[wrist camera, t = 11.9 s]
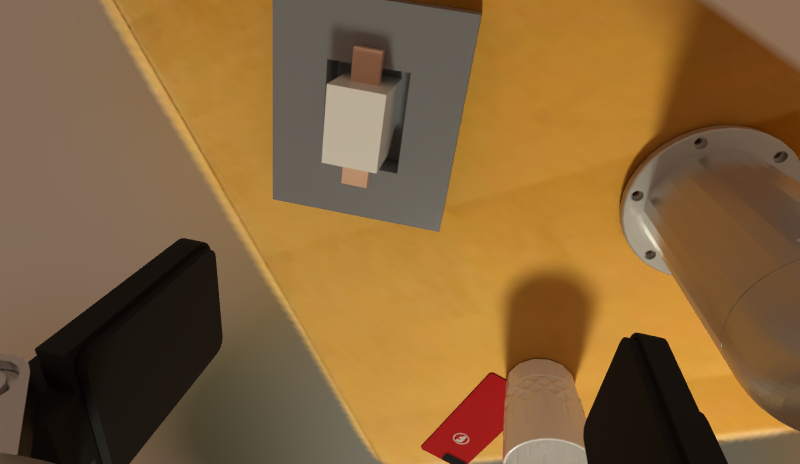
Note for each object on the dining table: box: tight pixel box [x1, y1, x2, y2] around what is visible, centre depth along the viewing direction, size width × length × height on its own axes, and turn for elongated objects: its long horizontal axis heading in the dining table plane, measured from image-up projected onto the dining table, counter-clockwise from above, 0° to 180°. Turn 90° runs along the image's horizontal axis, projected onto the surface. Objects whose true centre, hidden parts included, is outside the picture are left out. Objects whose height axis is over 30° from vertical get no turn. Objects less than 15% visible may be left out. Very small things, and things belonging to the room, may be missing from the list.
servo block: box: [322, 45, 402, 188], centre depth 35 cm, size 4×10×6 cm, turn 172°
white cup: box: [503, 359, 588, 464], centre depth 44 cm, size 8×8×10 cm
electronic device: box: [421, 373, 507, 464], centre depth 53 cm, size 6×1×15 cm
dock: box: [273, 0, 482, 232], centre depth 36 cm, size 14×16×4 cm
